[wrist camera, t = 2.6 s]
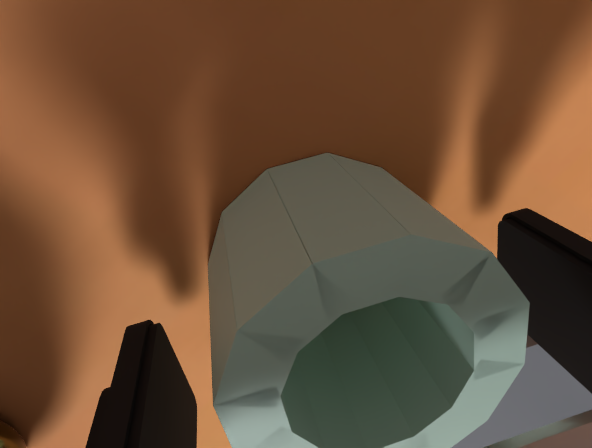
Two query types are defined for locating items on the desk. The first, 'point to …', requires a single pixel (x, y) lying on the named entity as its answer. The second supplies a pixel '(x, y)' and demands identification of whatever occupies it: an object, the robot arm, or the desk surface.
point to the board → (532, 400)
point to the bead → (355, 314)
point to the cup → (10, 437)
